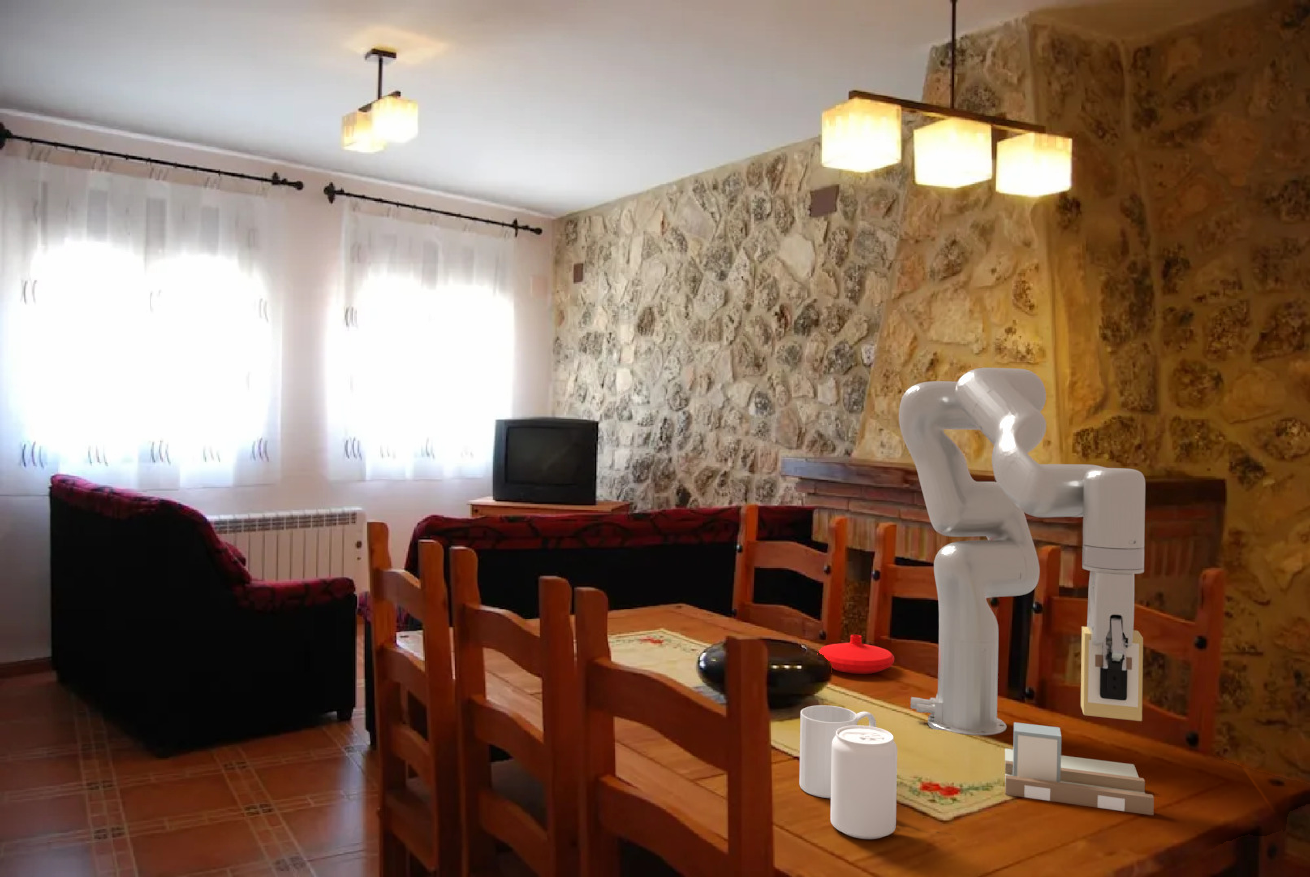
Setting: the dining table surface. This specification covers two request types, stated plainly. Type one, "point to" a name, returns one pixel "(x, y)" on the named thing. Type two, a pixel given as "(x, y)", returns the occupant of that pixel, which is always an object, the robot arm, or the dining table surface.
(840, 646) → the red disc with nozzle
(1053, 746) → the box
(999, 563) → the robot arm
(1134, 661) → the carton
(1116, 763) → the shelf
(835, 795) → the beverage can
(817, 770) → the mug
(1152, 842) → the dining table surface
